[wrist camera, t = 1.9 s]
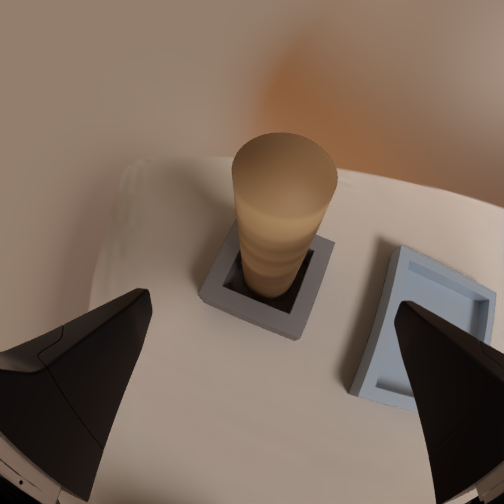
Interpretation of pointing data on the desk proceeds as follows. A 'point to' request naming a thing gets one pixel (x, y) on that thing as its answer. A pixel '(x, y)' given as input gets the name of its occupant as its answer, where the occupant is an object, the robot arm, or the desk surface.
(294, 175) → the dowel
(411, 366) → the robot arm
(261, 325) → the socket collar
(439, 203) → the desk surface
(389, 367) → the tray
